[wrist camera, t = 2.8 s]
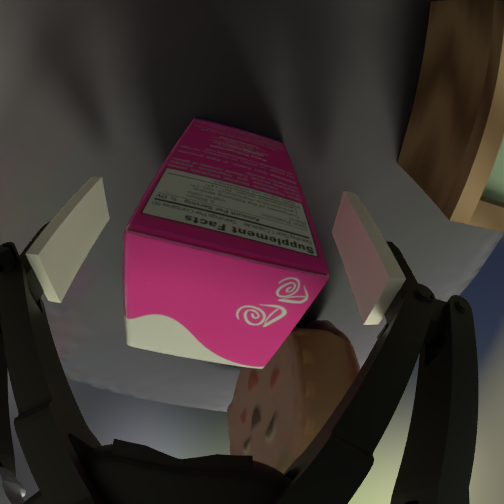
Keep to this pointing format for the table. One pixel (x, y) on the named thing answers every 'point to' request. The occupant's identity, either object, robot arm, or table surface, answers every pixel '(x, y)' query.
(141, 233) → the supplement box
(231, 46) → the table surface
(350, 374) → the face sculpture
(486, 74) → the frame
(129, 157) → the table surface
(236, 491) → the robot arm
